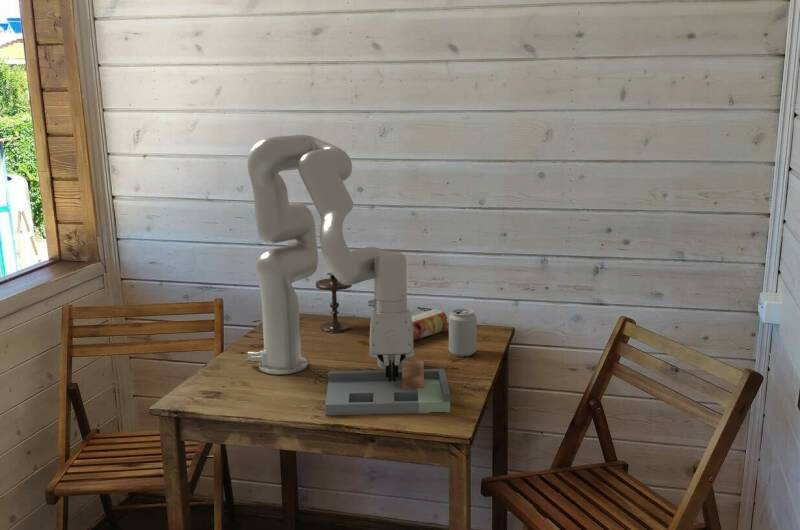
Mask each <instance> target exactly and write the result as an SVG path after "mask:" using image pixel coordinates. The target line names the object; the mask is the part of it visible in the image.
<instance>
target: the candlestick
mask: <svg viewBox="0 0 800 530" xmlns="http://www.w3.org/2000/svg"><path fill="white" fill-rule="evenodd" d="M329 270H330V269H329ZM326 275H327V276H329V278H323V279H319V280H317V281H316V282H315V288H316V289H319V290H323V291H330V292H331V300H332V301H331V302H330V303H329V306H330V308H331V309H332V310H331V311H330V314H331V315H332V320H331V321H327V322H324V323H322V324H320V326H319V328H320V329H321V330H322V331H321V330H320V329H319V330H320V331H321V332H323V331H325V332H324V333H326V332H333V333H332V334H335V333H334V332H342V333H345V332H344V331H346V332H348V331H350V330H351V324H350V323H349V322H346V321H339V320H338V314H339V313H340V312H339V310H338V308H339V307H340V304H339V302H338V301H337V300H338V299H337V292H338V291H340V290H341V291H342V290H343V291H344V290H346V289H350V288H352V286H353V285H345V284H342V283H341V282H339V281H338V280H337V279H336V278H335V277H334V275H333V274H332V272H331V270H330V271H329V272H328V273H326ZM349 329H350V330H349ZM347 330H348V331H347Z"/></svg>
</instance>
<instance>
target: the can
mask: <svg viewBox="0 0 800 530" xmlns="http://www.w3.org/2000/svg"><path fill="white" fill-rule="evenodd" d="M477 322H478V321H477V316H476V314H475V311H474V310H473V309H470V308H455V309H453V310H451V314H450V315H449V316H448V352H450V353H451V355H453V356H456V357H460V358H461V357H463V358H464V356H466V357H470V356H473V355H474V354H475V353H476V352H477ZM472 354H473V355H472Z"/></svg>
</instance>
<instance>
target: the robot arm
mask: <svg viewBox="0 0 800 530" xmlns="http://www.w3.org/2000/svg"><path fill="white" fill-rule="evenodd" d="M352 163H353V162H352V160H351V158H350V156H349V155H348V153H347V152H346V151H345V150H344V149H342V148H340V147H338V146H336V145H334V144H331V143H329V142H327V141H325V140H321V139H319V138H316V137H315V136H312V135H308V134H295V135H293V134H292V135H291V134H290V135H279V136H271V137H266V138H263V139H261V140H259V141H258V142H256V143H255V144H254V145H253V146H252V147H251V149H250V150H249V153H248V156H247V170H248V171H247V172H248V175H249V179H250V183H251V187H252V194H253V202H254V203H253V204H254V211H255V219H256V228H257V233H258V236H259V238H260V240H261V241H263V242H264V243H266V244H279V243H283V242H287V245H284V246H280V247H276V248H272V249H268V250H266V251H265V252H263V253H261V254H260V256H259V257H258V258H257V260H256V262H255V274H256V278H257V281H258V282H257V283H258V286H259V292H260V299H261V312H262V313H261V316H262V318H261V319H262V331H263V332H262V334H263V337H262V338H263V349H261V350H259V351H247V359H248V360H250V361H251V362H259V363H258V369H259V370H260V371H261V372H262V373H265V374H270V375H289V374H294V373H295V374H296V373H299V372H301V371H303V370H305V369H306V368H307V367H308V360H307V358H305V357H303V356H302V347H301V326H300V324H301V323H300V322H301V321H300V302H299V297H298V294H297V292H296V291H295V288H294V287H293V283H295V282H298V281H302V280H304V279H308V278H309V277H312V276H313V275H314V274H315V273H316V272H317V269H318V265H319V252H318V250H319V249H318V242H317V231H316V224H315V223H316V222H315V217H314V215H313V213H312V211H311V209H310V208H309V207H308V206H307V205H306V204H304V203H303V202H299V201H291V202H289V196H288V195H289V194H288V193H289V192H288V188H287V185H286V182H285V181H284V179H283V177H282V176H281V175H280V172H285V171H293V170H298V173H299V176H300V178H301V180H302V182H303V184H304V186H305V189H306V191H307V193H308V194H309V197H310V199H311V200H312V202H313V204H314V206H315V208H316V211H317V212H318V214H319V217H320V220H321V221H320V222H321V224H320V227H319V241H320V249H321V253H322V256H323V258H324V260H325V262H326V264H327V267H328V268H329V270H331V272H332V274H333V275H334V277H335V278H336V279H337V280H338V281H339V282H341V283H342V284H345V285H352V286H353V285H356V284H359V283H362V282H365V281H368V280H373V281H374V282H373V284H374V285H373V288H374V289H373V290H374V295H373V296H374V298H373V299H372V300H368V304H367V305H368V307H373V310H372V311H371V314H370V321H369V322H370V323H369V351H368V357H370V358H375V359H378V358H379V359H380V360H381V361H382V362H383V363H384V364H385V366H386V369H385V370H386V377H389V382H391V381H393V382H396V381H395V377H398V365H399V363H400V362H401V361H402V360H403V359H404V358H406V357H410V358H411V357H414V356H415V350H414V341H413V326H412V318H411V317H412V313H411V311H410V309H409V308H408V287H407V285H408V283H407V282H408V281H407V276H408V275H407V271H408V270H407V257H406V255H405V254H404V253H402V252H399V251H387V250H384V249H382V248H379V247H374V246H365V247H362V248H358V249H355V250H350V248H349V247H348V245H347V243H346V241H345V237H344V235H343V226H344V221H345V219H346V217H347V215H349V213H351V212H352V210H353V208H354V201H353V199H352V197H351V196H350V193H349V191H348V189H347V187H346V185H345V183H344V181H346V180H347V179H348V178H349V177H351V175H352V172H353V164H352ZM389 355H395V357H394V360H393V363H392V364H391V360H389Z"/></svg>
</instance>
